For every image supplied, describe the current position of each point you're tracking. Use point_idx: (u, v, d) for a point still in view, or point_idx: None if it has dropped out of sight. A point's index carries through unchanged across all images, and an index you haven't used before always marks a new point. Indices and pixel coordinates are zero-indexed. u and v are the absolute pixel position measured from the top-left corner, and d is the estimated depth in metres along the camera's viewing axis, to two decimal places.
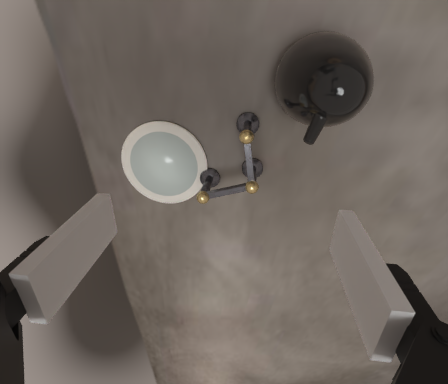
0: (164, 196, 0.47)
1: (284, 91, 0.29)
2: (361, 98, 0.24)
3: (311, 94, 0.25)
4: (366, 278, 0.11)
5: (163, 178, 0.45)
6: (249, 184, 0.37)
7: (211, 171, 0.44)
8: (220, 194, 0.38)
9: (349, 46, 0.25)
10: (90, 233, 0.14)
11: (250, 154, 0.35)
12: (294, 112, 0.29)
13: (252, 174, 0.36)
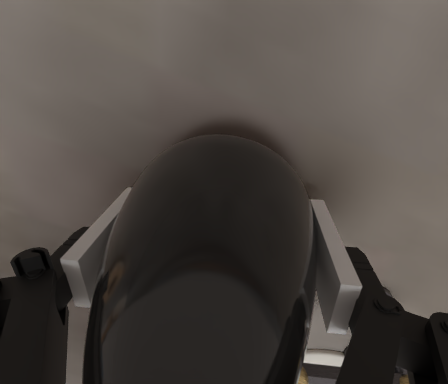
0: None
1: None
2: None
3: None
4: (326, 259, 0.12)
5: None
6: None
7: None
8: None
9: None
10: None
11: (333, 380, 0.17)
12: None
13: None
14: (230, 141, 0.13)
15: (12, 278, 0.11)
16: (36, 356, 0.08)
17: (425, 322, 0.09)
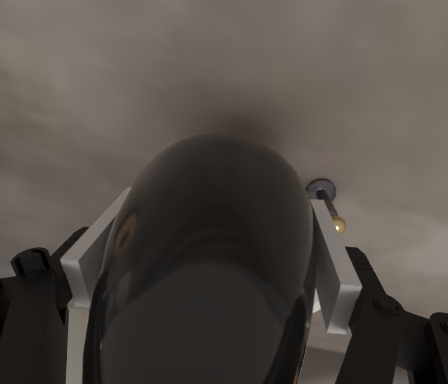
0: None
1: None
2: None
3: None
4: (326, 259, 0.12)
5: None
6: None
7: None
8: None
9: (89, 308, 0.09)
10: None
11: None
12: None
13: None
14: (230, 140, 0.13)
15: (12, 278, 0.11)
16: (35, 357, 0.08)
17: (425, 322, 0.09)
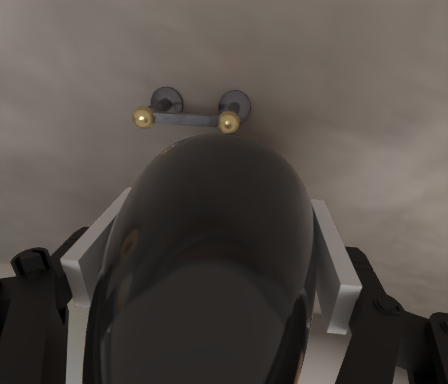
0: None
1: None
2: None
3: None
4: (326, 259, 0.12)
5: None
6: (219, 126, 0.22)
7: None
8: None
9: (89, 309, 0.09)
10: None
11: (171, 115, 0.22)
12: None
13: (205, 117, 0.22)
14: (230, 140, 0.13)
15: (12, 278, 0.11)
16: (36, 357, 0.08)
17: (425, 322, 0.09)
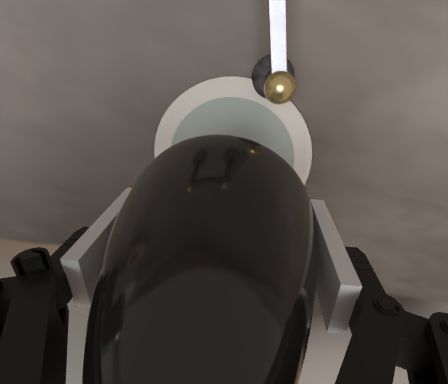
0: None
1: None
2: None
3: None
4: (326, 259, 0.12)
5: None
6: None
7: (257, 70, 0.21)
8: (281, 34, 0.14)
9: (89, 310, 0.09)
10: None
11: None
12: None
13: None
14: (230, 141, 0.13)
15: (12, 278, 0.11)
16: (36, 356, 0.08)
17: (425, 322, 0.09)
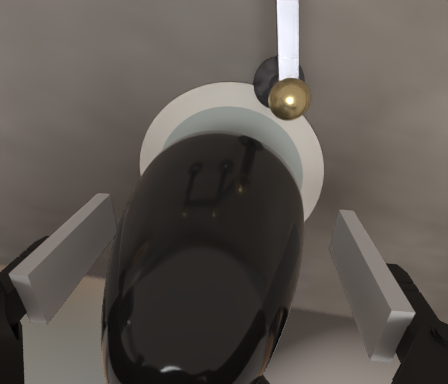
0: None
1: None
2: None
3: None
4: (366, 278, 0.11)
5: None
6: None
7: (260, 74, 0.17)
8: (292, 30, 0.11)
9: (105, 282, 0.11)
10: (90, 233, 0.14)
11: None
12: None
13: None
14: (227, 137, 0.14)
15: None
16: None
17: None
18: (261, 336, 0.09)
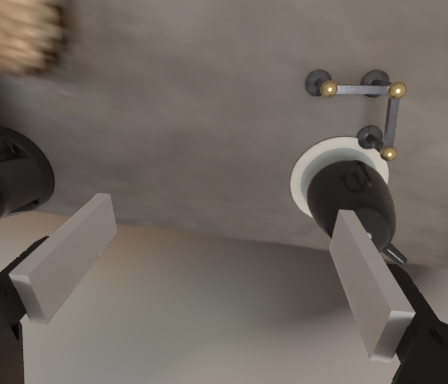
0: None
1: None
2: (381, 230, 0.28)
3: None
4: (366, 278, 0.11)
5: None
6: (391, 93, 0.29)
7: (361, 134, 0.38)
8: (392, 131, 0.31)
9: (332, 213, 0.31)
10: (90, 233, 0.14)
11: (351, 87, 0.30)
12: None
13: (379, 87, 0.29)
14: (357, 162, 0.35)
15: None
16: None
17: None
18: (394, 223, 0.29)
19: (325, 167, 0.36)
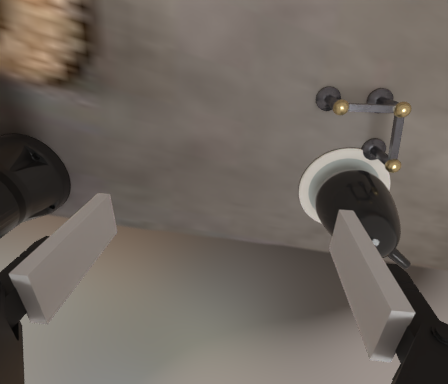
0: None
1: None
2: (388, 236, 0.31)
3: None
4: (366, 278, 0.11)
5: None
6: (397, 112, 0.32)
7: (366, 146, 0.41)
8: (397, 146, 0.34)
9: None
10: (90, 233, 0.14)
11: (361, 105, 0.33)
12: None
13: (386, 106, 0.32)
14: (364, 173, 0.38)
15: None
16: None
17: None
18: (399, 230, 0.32)
19: (334, 177, 0.39)
